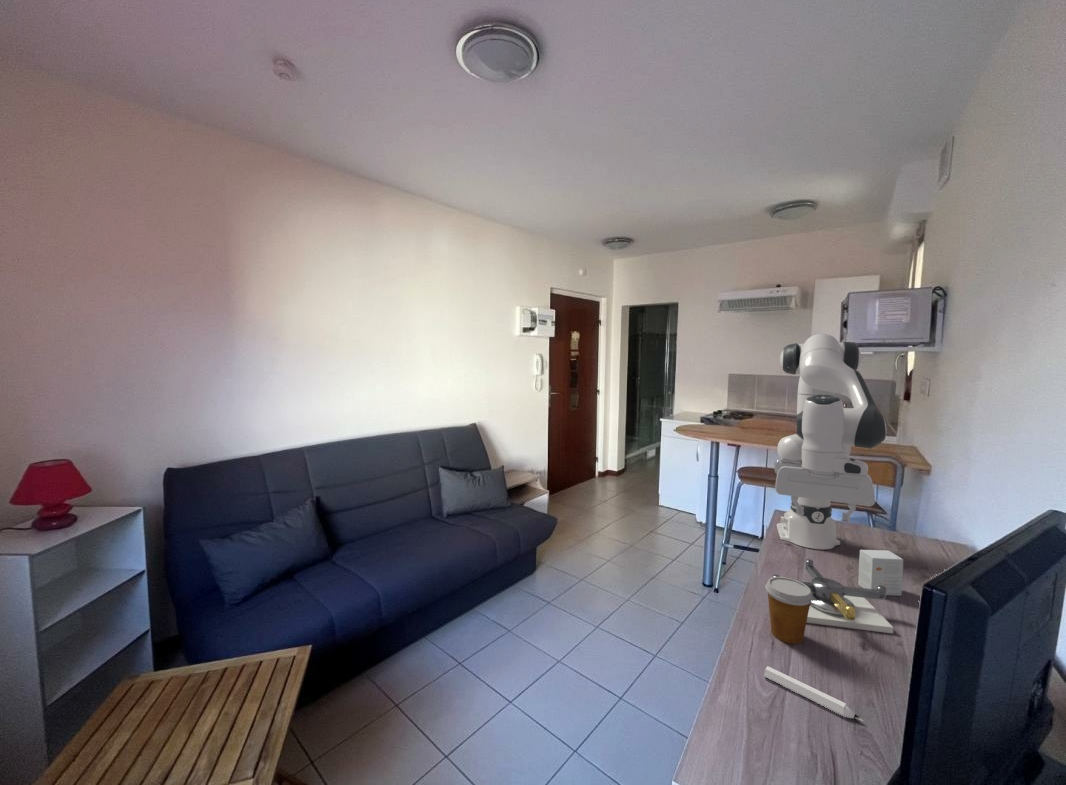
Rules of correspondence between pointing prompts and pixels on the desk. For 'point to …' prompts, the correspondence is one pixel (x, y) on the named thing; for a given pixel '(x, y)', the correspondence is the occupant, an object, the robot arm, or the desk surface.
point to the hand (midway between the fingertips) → (822, 517)
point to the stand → (863, 620)
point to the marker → (810, 693)
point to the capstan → (836, 594)
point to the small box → (881, 571)
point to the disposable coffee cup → (788, 608)
